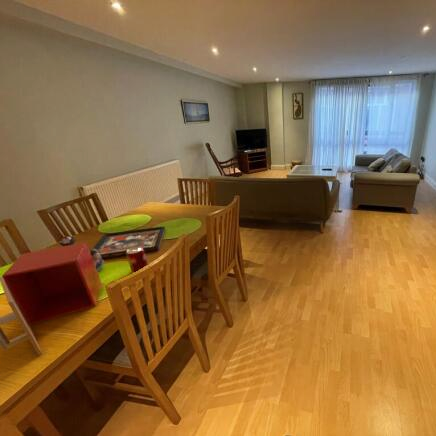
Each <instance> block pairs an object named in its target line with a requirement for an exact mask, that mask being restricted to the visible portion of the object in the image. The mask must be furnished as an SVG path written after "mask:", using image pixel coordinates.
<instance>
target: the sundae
mask: <svg viewBox="0 0 436 436" xmlns="http://www.w3.org/2000/svg"><path fill="white" fill-rule="evenodd" d="M58 235H59V236H60V235H61V237H60V238H61V239H60V241H59V243H58V245H60V246H61V247H63V246H68V245H74V244H76V240H77V239H76V238H74V237H70V236H66V235H63V234H62V233H58Z"/></svg>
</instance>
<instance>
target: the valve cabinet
mask: <svg viewBox="0 0 436 436" xmlns="http://www.w3.org/2000/svg"><path fill="white" fill-rule="evenodd" d="M1 277H3V278H4V280H5V282H6V284H7V285H8V287H9V289H10V291H11V292H12V294H13V296H14V298H15V300H16V301H17V303H18V305H19V307H20V308H21V310H22V312H23V314H24V316H25V317H26V319H27V321H28V323H29V324H30V325H33V324H38V323H41V322H44V321H48V320H51V319H54V318H58V317H61V316H65V315H68V314H73V313H76V312H80V311H83V310H86V309H90V308H93V307H96V306H97V303H98V299H99V295H100V292H101V289H102V286H103V283H102V280H101V278H100V275H99V271H98V272H97V269H96V267H95V264H94V261H93V259H92V256H91V253H90V248H89V245H88V243H87V242H86V241H84V242H78V243H75V244H74V245H68V246H58V247H52V248H48V249H42V250H37V251H31V252H25V253H22V254H21V255H20V256H19V257H18V258H17V259H16V260H15V261H14V262H13V263H12V264H11V265H10V266H9V267H8V269H6V270H5V272H4V273H3V274H2V275H1Z"/></svg>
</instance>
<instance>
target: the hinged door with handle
mask: <svg viewBox="0 0 436 436" xmlns="http://www.w3.org/2000/svg"><path fill="white" fill-rule="evenodd" d="M0 285H1V287H2V290H3V293H4V296H5V299H6V301H7V303H8V305H9V308H10V309H11V310H12V312H11V313H8V314H6V315H3V316H1V317H0V345H1V347H2V348H3V350H5V351H6V350H8V349H11V348H13V347H16V346H17V345H19V344H21V343H23V342H25V341H27V340H29V342H30V344H31V345H32V347H33V348H34V350H35V352H36V354H37V356H42V355H43V352H42V350H41V348H40V345H39V342H38V341H37V339H36V336H35V333H34V331H33V328H32V327H31V324H29V323H28V321H27V319H26V317H25V316H24V314H23V312H22V310H21V308H20V307H19V305H18V303H17V301H16V300H15V298H14V296H13V294H12V292H11V291H10V289H9V287H8V285H7V284H6V282H5V280H4V278H3V277H2V276H1V277H0ZM15 320H18V322H19V324H20V326H21V328H22V329H23V331H24V333H22V334H20V335H17V336H16V337H14V338H12V339H8V336H7V335H6V333H5V332H4V330H3V329H2V327H1V326H2V325H5V324H7V323H9V322H12V321H15Z"/></svg>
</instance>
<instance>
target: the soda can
mask: <svg viewBox="0 0 436 436" xmlns="http://www.w3.org/2000/svg"><path fill="white" fill-rule="evenodd" d="M125 256H126V258H127V262H128V265H129V268H130V272H131V274H132V273H133V272H136V271H138V270H139V269H141V268H143V267H144V266H146V265H148V266H149V263H148V259H147V256H146V252H144V249H143V248H142V247H133V248H130V249H128V250H127V251H126V255H125Z"/></svg>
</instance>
